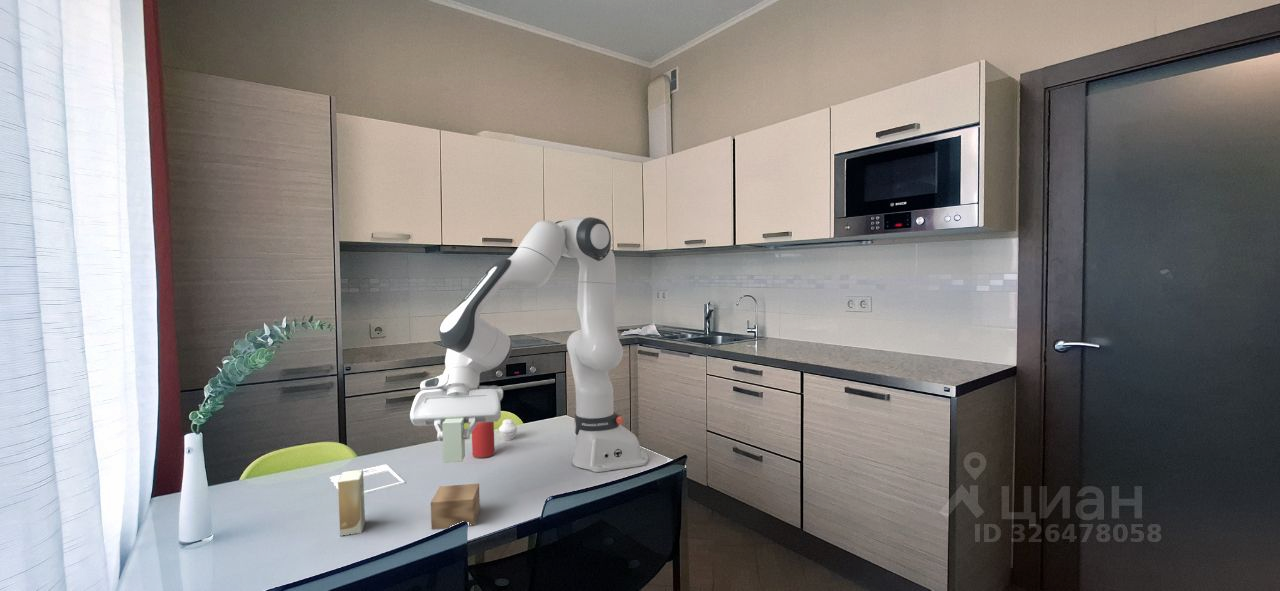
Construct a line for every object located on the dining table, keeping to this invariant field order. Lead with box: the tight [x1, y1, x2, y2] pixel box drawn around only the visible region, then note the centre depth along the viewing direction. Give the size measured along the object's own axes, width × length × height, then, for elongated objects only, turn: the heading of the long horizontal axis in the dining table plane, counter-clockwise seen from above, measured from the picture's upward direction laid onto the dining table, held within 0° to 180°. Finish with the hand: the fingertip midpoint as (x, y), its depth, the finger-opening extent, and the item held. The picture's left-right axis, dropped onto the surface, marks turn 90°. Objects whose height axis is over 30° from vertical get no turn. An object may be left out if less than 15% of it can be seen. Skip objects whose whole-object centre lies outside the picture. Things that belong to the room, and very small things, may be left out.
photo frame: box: [329, 463, 406, 494], centre depth 146 cm, size 15×1×18 cm
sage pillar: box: [441, 418, 466, 464], centre depth 121 cm, size 4×4×9 cm
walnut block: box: [430, 483, 481, 530], centre depth 122 cm, size 9×9×6 cm
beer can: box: [471, 422, 496, 459], centre depth 165 cm, size 7×7×12 cm
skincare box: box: [337, 469, 366, 537], centre depth 118 cm, size 6×4×12 cm
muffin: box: [498, 418, 518, 441], centre depth 180 cm, size 6×6×7 cm
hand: (453, 439), depth 121 cm, fingers closed on sage pillar, 4 cm apart
